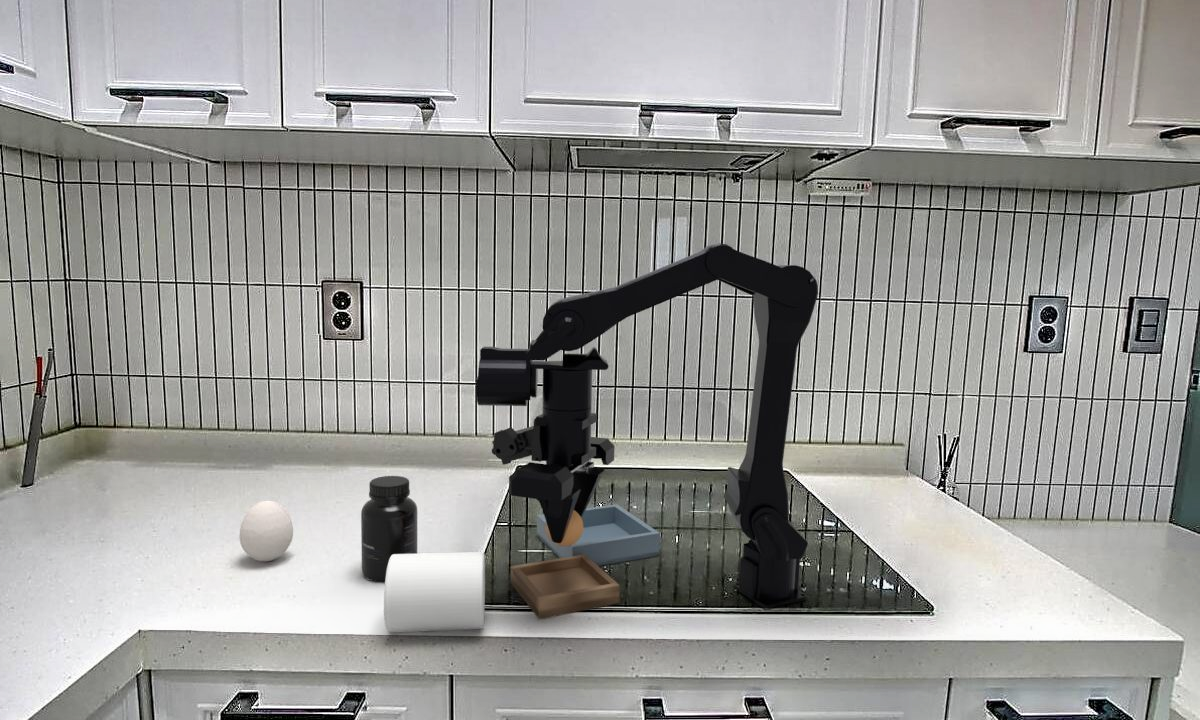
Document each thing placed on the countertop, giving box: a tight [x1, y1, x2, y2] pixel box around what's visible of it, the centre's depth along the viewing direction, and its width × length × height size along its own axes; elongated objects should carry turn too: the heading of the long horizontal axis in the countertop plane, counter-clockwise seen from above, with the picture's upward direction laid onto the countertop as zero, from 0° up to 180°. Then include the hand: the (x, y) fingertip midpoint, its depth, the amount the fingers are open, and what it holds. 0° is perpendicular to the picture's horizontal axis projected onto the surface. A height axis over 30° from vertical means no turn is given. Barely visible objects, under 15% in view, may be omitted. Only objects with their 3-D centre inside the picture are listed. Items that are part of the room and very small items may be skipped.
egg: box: [239, 500, 294, 562], centre depth 94 cm, size 6×6×8 cm
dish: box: [536, 503, 661, 567], centre depth 102 cm, size 13×13×3 cm
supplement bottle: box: [360, 475, 418, 583], centre depth 91 cm, size 7×7×12 cm
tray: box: [510, 554, 621, 620], centre depth 87 cm, size 10×10×2 cm
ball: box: [546, 510, 583, 546], centre depth 86 cm, size 4×4×4 cm
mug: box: [383, 551, 486, 633], centre depth 80 cm, size 12×10×8 cm
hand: (565, 535), depth 86 cm, fingers closed on ball, 4 cm apart
